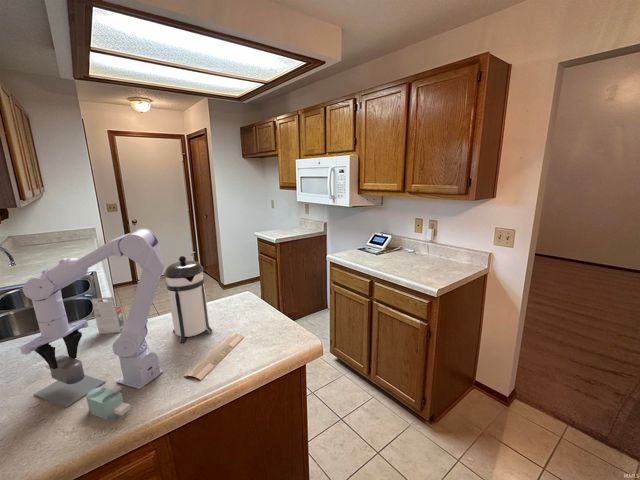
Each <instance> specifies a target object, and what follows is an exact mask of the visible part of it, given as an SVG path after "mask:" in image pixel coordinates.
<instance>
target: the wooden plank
mask: <svg viewBox="0 0 640 480" xmlns="http://www.w3.org/2000/svg"><path fill="white" fill-rule="evenodd" d="M244 338H245V336H244V335H242V334H239V333H229V334H228V335H227V336H226V337H225V338H223V340H221V341H220V343H218V344H217V345H216V346H215V347H214V348H213V349H211V351H210V352H208V353H207V354H206V355H205V356H204V357H202V358H201V359H200V360H199V361H198V362H197V363H196V364H195V365H194V366H193V367H192V368H191V369H190V370H188V371H187V372H186V373H185V374H184V375H183V378H186V377H188V376H190V377H194V378H197V379H198V380H200V381H202V380H204V378H205V377H206V376H207V375H208V374H209V373H210V372H212V370H213V369H214V368H215V367H216V366H217V365H219V363H220V362H221V361H222V360H224V358H225V357H226V356H227V355H229V353H230V352H231V351H232V350H233V349H234V348H235V347H236V346H237V345H238V344H239V343H240V342H241V341H242V340H243V339H244Z"/></svg>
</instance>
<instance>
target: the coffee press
mask: <svg viewBox="0 0 640 480" xmlns="http://www.w3.org/2000/svg"><path fill="white" fill-rule="evenodd" d="M163 276H164V278H165V280H166V283H165V286H166V290H167V293H168V300H169V305H170V312H171V313H170V314H171V318H172V323H173V330H172V333H173V334H175V335H177V336H179V337H180V339H179V343H180V344H185V343H186V341H187V339H188V337H194V336H197V335H200V334H202V333H203V332H205V333H206V334H207V335H211V334H212V333H213V328H211V327H210V321H209V313H208V312H209V311H208V304H207V297H206V296H207V295H206V289H205V276H204V266H202V265H201V263H200V262H199V261H196V260H187V258H186V257H185V255H181V256H179V257H178V261H177V262H174V263H171V264H170V265H168V266H167V267H166V268H165V270H164V272H163Z"/></svg>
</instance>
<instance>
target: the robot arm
mask: <svg viewBox="0 0 640 480" xmlns="http://www.w3.org/2000/svg"><path fill="white" fill-rule="evenodd" d="M112 256H116V257H120V258H121V257H123V256H125V257H127V258H129V259H130V260H131V261H133V262H135V263H136V264H137V265H138V266H139V267H140V268H141V269H142V271H141V274H140V278H139V280H138V284H137V286H136V289H135V293H134V295H133V299H132V301H131V306H130V310H129V312H128V315H127V318H126V322H124V327H123V329H122V331H121V332H120V335H119V336H118V337H117V338H116V340H114V342H113V343H112V351H113V353H114V354H115V356H118V358H119V363H120V368H121V372H122V376H121V377H119V378H117V379H116V383H119V384H121V385H125V386H128V387H131V388H133V389H138V390H140V389H142V388H143V387H145V386H146V385H147V384H149V383H150V382H151V381H153V380H154V379H156V378H157V377H158V376H159V375H160V374H162V373H163V372H164V371H163V370H162V369H160V365H159V358H158V355H157V353H156V352H154V351H152V350H151V349H150V348H149V346H148V343H147V341H146V339H145V338H146V336H147V335H148V331H149V330H148V327H147V325H148V321H149V320H148V317H149V313H150V311H151V307H152V305H153V301H154V298H155V296H156V293H157V289H158V286H159V283H160V280H161V276H162V274H163V270H164V268H165V260H164V256H163V253H162V250H161V245H160V239H159V238H158V237H157V236H156V235H155V234H154V232H152V230H150V229H147V228H138V229H136V230H134V231H133V232H132V233H131V232H129V233H126V234H123V235H121V236H118V237H116V238H114V239H111V240H110V241H108V242H106V243H104V244H102V245H101V246H99V247H97V248H96V249H94V250H93V251H91V252H89V253H87V254H85V255H84V256H83V257H81V258H79V257H69V258H67V257H65V258H62V259H61V260H59V261H58V264H57V265H54V266H52V267H51V268H45V269H43V270H41V273H40V274H38V275H36V276H34V277H31V278H29V279H28V280H27V281H25V283H24V284H23V285H22V292H23V295H24V296H25V297H26V298H28V299H29V300H31V303H32V306H33V310H34V313H35V317H36V321H37V324H38V328H39V331H40V335H39V336H37V337H35V338H34V339H32V340H31V341H29V342H27V343H25V344H23V345H20V346H19V349H20V353H21V354H23V355H26V356H28V355H30V354H31V353H32V352H33V351H34V352H35V353H37V354H38V355H39V356H40V357H42V358H43V359H44V361H45V362H46V363H48V365H49V366H50V368H52V369H56V368H58V365H57V361H56V358H55V357H56V347H55V346H52V344H50V343H53V342H55V341H58V340H61V339H62V340H63V342H64V344H65V346H66V347H65V348H66V351H67V356H68V357H71V358H74V359H77V355H78V348H79V344H80V340H81V338H82V337H83V333H82V332H81V331H80V330H82V329H85V328H88V327H89V322H88V320H86V319H80V320H78V321H75V322H73V323H70V324H69V320H68V316H67V313H66V308H65V304H64V301H63V296H62V289H63V288H65V287H67V286H69V285H71V284H74V283H75V282H76V281H78V280H80V279H82V278H83V277H85V276H87V274H88V271H89V268H91V267H93V266H94V265H97V264H99V263H100V262H102V261H105V260H107V259H109V258H110V257H112Z"/></svg>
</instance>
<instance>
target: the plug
mask: <svg viewBox="0 0 640 480" xmlns="http://www.w3.org/2000/svg"><path fill="white" fill-rule="evenodd" d="M55 358H56V361H57V365H58V368H56V369H52V368H50V366H49V365H48V363H47V362H46V363H45V364H44V367H45V368H46V369H48V370H49V371H50V374H51V378H52V379H54V380H56V381H61V382H64V383H66V384H74V383H77V382H79V381H81V380H82V379H83V378H84V377H85V375H86V374H85V372H84V371H85V370H84V367H83V363H82V360H80V359H77V358H75V359H74V358H71V357H69V355H58V356H55Z"/></svg>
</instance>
